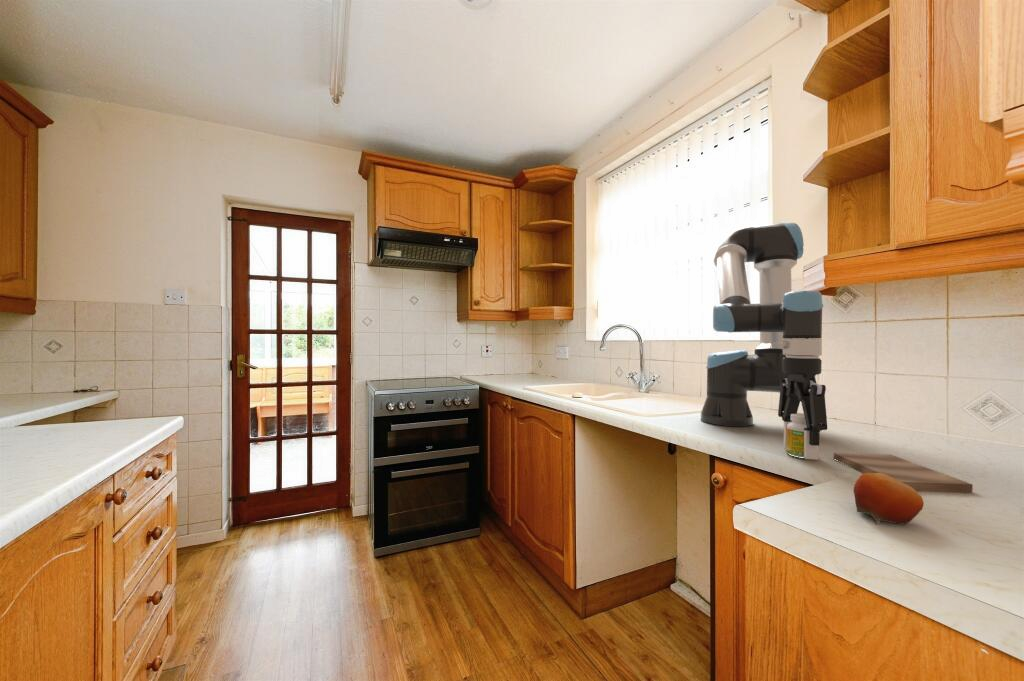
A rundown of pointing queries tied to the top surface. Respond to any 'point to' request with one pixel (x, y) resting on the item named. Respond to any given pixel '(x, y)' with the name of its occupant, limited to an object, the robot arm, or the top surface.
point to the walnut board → (904, 472)
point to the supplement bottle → (796, 435)
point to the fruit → (886, 498)
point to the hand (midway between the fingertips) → (800, 453)
